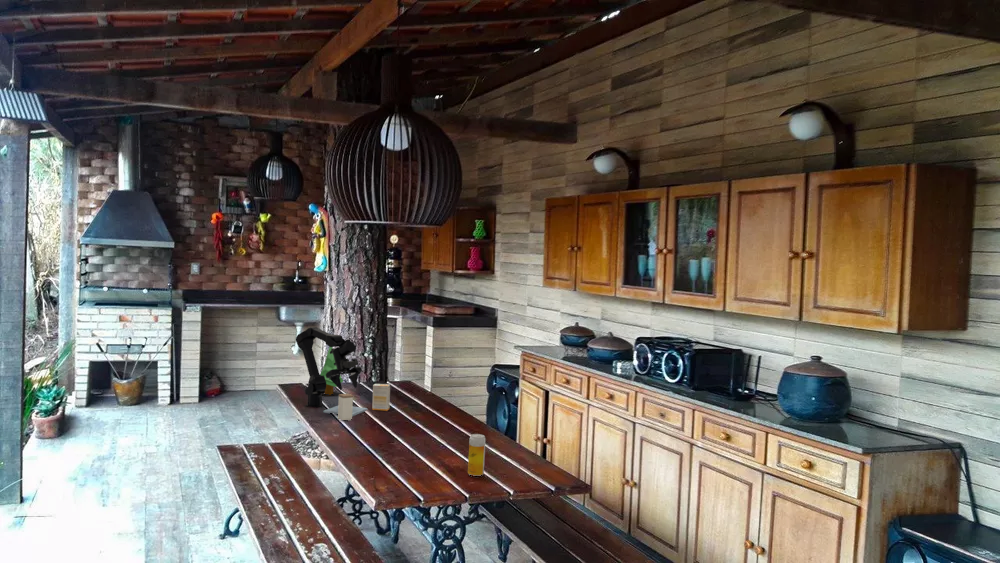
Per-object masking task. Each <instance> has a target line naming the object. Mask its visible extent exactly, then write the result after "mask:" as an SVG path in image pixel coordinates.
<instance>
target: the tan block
mask: <svg viewBox="0 0 1000 563" xmlns="http://www.w3.org/2000/svg"><path fill="white" fill-rule="evenodd" d="M337 403H338V404H337V406H338V415H337V420H339V419H341V420H348V421H352V420H353V416H352V408H353V407H354V405H353V403H354V395H353V394H351V393H342V394H341V393H339V394H338V402H337ZM351 419H352V420H351ZM341 420H340V421H341Z"/></svg>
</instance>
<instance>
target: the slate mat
mask: <svg viewBox="0 0 1000 563" xmlns="http://www.w3.org/2000/svg"><path fill="white" fill-rule="evenodd" d="M368 409H369V408H367V407H358V406H353V408H352V417H355V416H356V415H360V414H362V413H364V412H367V411H368ZM366 410H367V411H366ZM323 413H324V414H330V413H334V414H333V415H337V414H338V405H336V406H332V407H331V408H328V409H325V410H323Z"/></svg>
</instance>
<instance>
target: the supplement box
mask: <svg viewBox="0 0 1000 563" xmlns="http://www.w3.org/2000/svg"><path fill="white" fill-rule="evenodd" d="M390 397H391V384H387V383H374V384H373V385H372V405H371V406H372V407H371V409H372V410H373V411H386V412H387V411H389V410H390V403H391V402H390V401H391V400H390V399H391V398H390Z"/></svg>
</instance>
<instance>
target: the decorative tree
mask: <svg viewBox="0 0 1000 563" xmlns="http://www.w3.org/2000/svg"><path fill="white" fill-rule="evenodd" d="M332 348H333V347H329V346H328V350H327V354H326V358H325V361H324V362H325V363H324V364H323V367H322V370H321V373H319V374H320V375H321V376H324V377H325V381H326V382H327V383H326V389H325V394H329V395H328V396H332V395H331V394H333V395H334V389H335V388H338V387H337V386H336V385H335V384H334V383H333V382H332V381H331V380H329V378H326V373H327V372H328V371H330V370H333V369H337V367H336V365H334V363H335V360H334V356H333V354H330V351H331V349H332ZM340 382H341V383H343V382H344V379H343V378H342V374H341V375H340ZM334 387H335V388H334Z"/></svg>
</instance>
